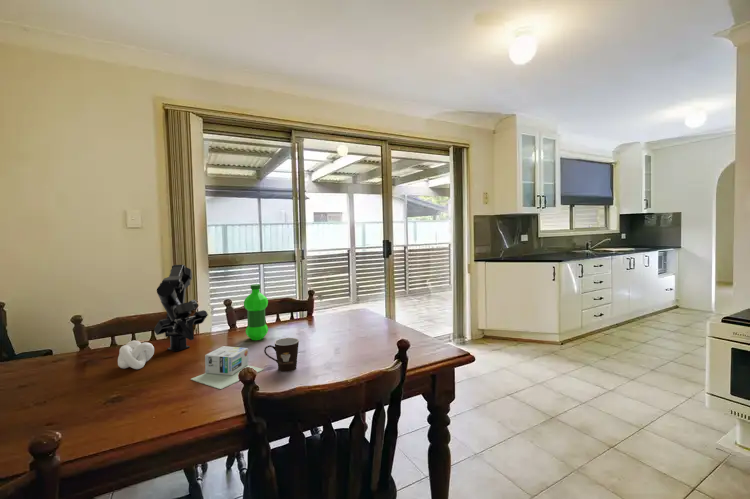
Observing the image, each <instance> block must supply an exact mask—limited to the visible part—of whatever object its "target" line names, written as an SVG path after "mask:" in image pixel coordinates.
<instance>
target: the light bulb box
mask: <svg viewBox="0 0 750 499" xmlns="http://www.w3.org/2000/svg"><path fill="white" fill-rule="evenodd" d="M247 365H249V347H241V346H240V347H239V346H238V347H237V346H227V345H226V346H224V345H222V346H221V347H219V348H217V349H214V350H213V351H210V352H208V353H206V354H205V355H204V366H205V367H204V368H205V370H204V373H211V374H222V375H234V374H235V373H236V372H238V371H239V370H240V369H242V368H244V367H245V366H247Z"/></svg>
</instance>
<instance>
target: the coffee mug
mask: <svg viewBox="0 0 750 499" xmlns="http://www.w3.org/2000/svg"><path fill="white" fill-rule="evenodd" d="M299 343H300V340H299V339H298V338H295V337H285V338H284V337H282V338H279V339H276V340H275V341H274V345H272V344H271V345H267V346H265V347H264V349H263V353H264V354H265V356H267V357H268V358H269V359H271V360H273V361H274V362H276V363H277V369H278V371H279V372H282V373H286V372H287V373H288V372H292V371H295V370H296V369H297V365H298V353H299ZM268 348H272V349H273V350H274V351H275V355H276V356H275V357H276V358H274V357H272V356H270V355H269V354H268V353H267V349H268Z"/></svg>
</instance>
